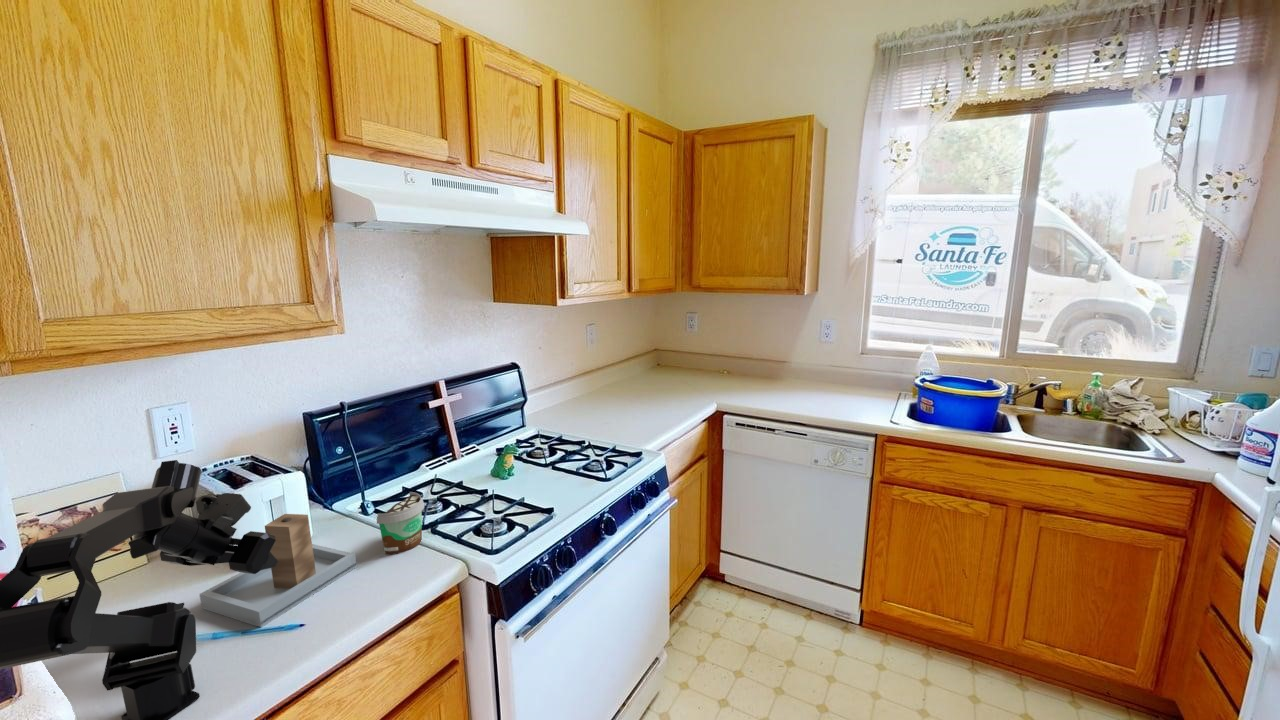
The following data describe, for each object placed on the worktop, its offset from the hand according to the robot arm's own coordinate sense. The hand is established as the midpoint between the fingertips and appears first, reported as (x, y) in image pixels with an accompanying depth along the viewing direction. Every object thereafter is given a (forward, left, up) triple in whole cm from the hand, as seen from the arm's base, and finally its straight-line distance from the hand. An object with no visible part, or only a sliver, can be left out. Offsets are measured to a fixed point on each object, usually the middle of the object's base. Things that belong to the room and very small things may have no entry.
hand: (254, 561), depth 96 cm
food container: (+28, -8, -10) cm, 31 cm away
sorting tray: (+7, +4, -10) cm, 12 cm away
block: (+8, +1, -9) cm, 12 cm away
